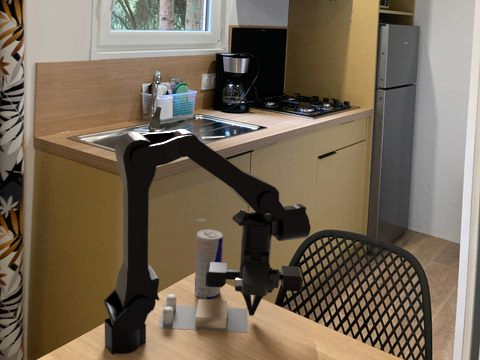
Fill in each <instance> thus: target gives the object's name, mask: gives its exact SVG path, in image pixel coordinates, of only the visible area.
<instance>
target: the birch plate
mask: <svg viewBox="0 0 480 360" xmlns="http://www.w3.org/2000/svg"><path fill="white" fill-rule="evenodd" d="M196 306H197V312H196V322H195V327H207V328H226V320H227V308H228V300H224V299H222V300H221V299H202V298H198V300H197V305H196Z"/></svg>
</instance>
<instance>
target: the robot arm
mask: <svg viewBox="0 0 480 360" xmlns="http://www.w3.org/2000/svg"><path fill="white" fill-rule="evenodd" d="M114 154H115V159H116V164H117V169H118V172H119V176H120V179H121V180H120V181H121V183H122V189H123V192H122V196H123V197H122V201H123V202H122V208H123V209H122V210H123V212H122V213H123V215H122V217H123V218H122V222H123V223H122V225H123V226H122V227H123V228H122V229H123V231H122V233H123V235H122V236H123V238H122V239H123V240H122V241H123V243H122V244H123V245H122V249H123V254H122V257H123V260H122V264H121V266H120V268H119V271H118V274H117V280H116V283H115V289H113V290H112V291H111V293H109V295H107V296H106V298H105V299H104V300H103V304H104V307H105V309H106V312H107V315H108V318H106V319H104V347H105V348H106V349H107V350H108V353H109V352H110V354H111V355H116V354H119V355H126V354H131V353H134V352H135V351H137V350H138V349H139V348H140V347H141V346H143V345H144V344H146V342H147V324H146V320H147V319H148V316H149V314H150V313H151V312H152V311H154V310H155V308H156V303H157V301H160V297H159V293H158V291H159V286H160V285H159V284H160V279H159V277H158V275H157V274H156V272H155V270H154V269H153V267H152V265H150V264H149V210H150V209H149V206H150V205H149V202H150V201H149V200H150V196H149V195H150V189H151V186H152V183H153V181H154V179H155V176H156V173H157V167H159V166H164V165H169V164H170V163H172V162H174V161H177V160H179V159H181V158H185V157H187V158H188V159H189V160H191V161H192V162H193V163H195V164H196V165H199V166H200V168H202V169H204V170H206V171H207V172H208V173H210V174H211V175H212V176H214V177H215V178H217V179H219V181H221V182H223V183H224V184H226V185H227V186H228V188H229V189H230V190H231V191H232V192H233V193H234V194H235V195H236V197H238V199H240V200H241V201H242V203H244V204H245V205H246V206H248V207H249V208H251V209H252V210H253V211H251V212H250V211H249V212H247V211H245V210H244V209H243V208H241V209H240V210H239V212H237V213H235V214H234V215H233V216H232V218H231V219H232V221H233V222H235V223H236V225H238V226H240V227H242V228H241V245H240V264H239V269H231V268H229V269H228V263H227V262H222V263H219V262H210V263H209V264H208V265H207V271H206V286H208V287H220V289H221V288H223V287H224V286H225V285H226V284H227V280H233V281H234V291H235V292H239V293H240V294H242V298H243V299H244V302H245V305H246V309H247V313H248V315H249V316H250V317H254V316H255V314H256V311H257V309H258V307H259V305H260V303H261V301H262V300H263V298H264V297H266V296H267V295H268V294H272V292H273V291H274V290H275V289H279V285H280V283H282V284H281V285H282V288H283V289H284V290H285V291H286V292H300V293H301V292H302V291H303V285H304V278H303V274H302V269H301V268H300V267H299V266H293V265H290V266H289V265H281V266H280V269H273V267H271V265H270V263H271V250H272V237H274V238H275V239H276V240H277V241H279V242H284V241H292V240H300V239H305V238H308V237H309V236H310V234H311V233H310V232H311V224H310V218H309V216H308V214H307V207H306V206H305V205H303V204H301V203H296V204H294V205H287V206H283V204H282V202H281V201H280V191H279V190H278V189H277V187H275V186H273V184H270V183H269V182H267V181H266V180H265V179H263V178H261V177H259V176H257V175H254V174H252V173H251V172H248V171H246V170H244V169H240V168H239V167H237V165H234V164H233V163H232V162H230V161H229V160H228V159H227V158H225V157H224V156H222V155H221V154H219V152H217V151H215V150H214V149H212V148H211V147H210V146H208V145H207V144H205V143H204V142H202V140H200V139H199V138H198V137H197V135H195V134H194V133H193V132H191V131H189V130H187V129H184V128H179V129H175V130H169V131H157V132H149V133H143V134H141V133H138V132H135V131H130V132H126V133H123V135H121V136H120V137H119V138H118V139H117V140H116V142H115V145H114ZM252 297H253V298H252Z"/></svg>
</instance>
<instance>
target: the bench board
mask: <svg viewBox="0 0 480 360" xmlns="http://www.w3.org/2000/svg"><path fill="white" fill-rule="evenodd" d="M196 312H197V305H183V304H177V295H176V294H174V293H171V294H170V293H169V294H167V295H166V302H165V304H163V306H162V311H161V315H160V317H159V318H160V319H159V322H158V324H157V325H158V326H157V329H165V330H166V329H168V330H169V329H170V330H185V331H186V330H188V331H189V330H190V331H191V330H192V331H206V332H207V331H208V332H210V331H211V332H224V333H225V332H230V333H248V309H247V307H245V308H244V307H243V308H242V307H227V320H226V328H207V327H195V322H196Z"/></svg>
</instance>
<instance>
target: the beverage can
mask: <svg viewBox="0 0 480 360" xmlns="http://www.w3.org/2000/svg"><path fill="white" fill-rule="evenodd" d="M223 238H224V237H223V233H222V232H221V231H219V230H215V229H201V230H199V231H198V232H197V233H196V241H195V242H196V244H195V245H196V246H195V272H194V273H195V274H194V276H195V278H194V295H195V296H196V297H198V299H207V300H214V299H216V298H218V297H219V296H220V295H221V287H208V286H206V271H207V265H208V264H209V263H210V262H219V263H223V262H222V261H223V258H222V257H223V243H224V242H223V241H224V239H223Z"/></svg>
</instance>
